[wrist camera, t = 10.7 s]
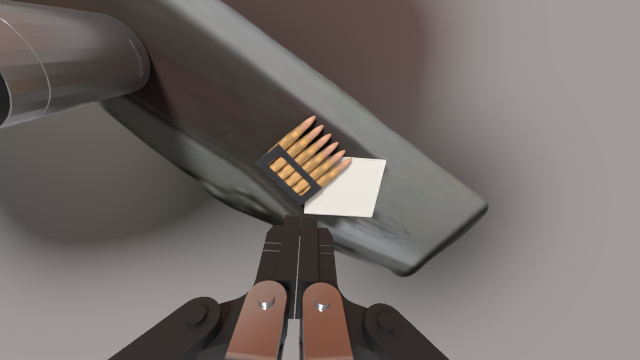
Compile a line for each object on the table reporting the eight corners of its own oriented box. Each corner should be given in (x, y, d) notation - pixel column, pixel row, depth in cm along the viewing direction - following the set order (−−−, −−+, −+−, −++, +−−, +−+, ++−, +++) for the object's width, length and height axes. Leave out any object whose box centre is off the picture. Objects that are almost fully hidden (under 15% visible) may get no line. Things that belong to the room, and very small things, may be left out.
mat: (304, 211, 45) (304, 213, 44) (308, 154, 39) (308, 155, 38) (371, 215, 46) (371, 217, 45) (385, 160, 40) (386, 160, 39)
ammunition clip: (302, 200, 43) (354, 160, 39) (301, 206, 41) (356, 164, 37) (257, 158, 39) (311, 110, 35) (255, 163, 37) (310, 112, 34)
